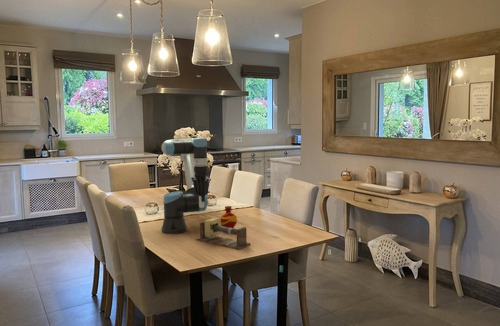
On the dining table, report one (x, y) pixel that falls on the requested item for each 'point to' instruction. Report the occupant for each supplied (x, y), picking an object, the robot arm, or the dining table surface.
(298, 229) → the dining table surface
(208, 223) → the collar
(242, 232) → the pipe rig
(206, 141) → the robot arm
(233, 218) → the potion bottle
